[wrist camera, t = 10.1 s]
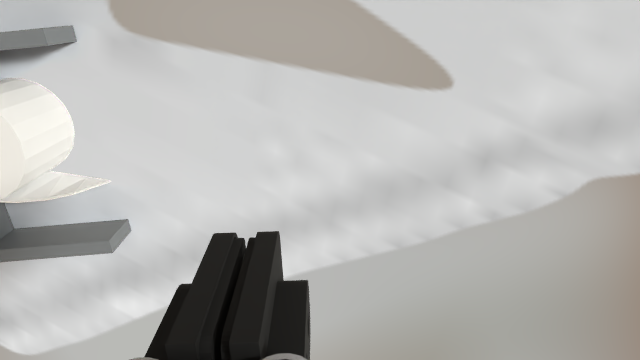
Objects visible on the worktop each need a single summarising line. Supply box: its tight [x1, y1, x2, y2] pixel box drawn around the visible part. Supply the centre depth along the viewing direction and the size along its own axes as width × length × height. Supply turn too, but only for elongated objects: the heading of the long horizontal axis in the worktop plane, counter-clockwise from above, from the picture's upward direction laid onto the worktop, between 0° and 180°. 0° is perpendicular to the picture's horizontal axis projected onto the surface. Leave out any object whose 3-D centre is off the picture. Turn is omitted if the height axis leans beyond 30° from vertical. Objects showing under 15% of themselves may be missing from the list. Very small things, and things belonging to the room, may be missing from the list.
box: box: [0, 26, 131, 262], centre depth 37 cm, size 18×12×4 cm, turn 5°
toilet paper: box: [0, 78, 111, 203], centre depth 35 cm, size 8×11×7 cm
